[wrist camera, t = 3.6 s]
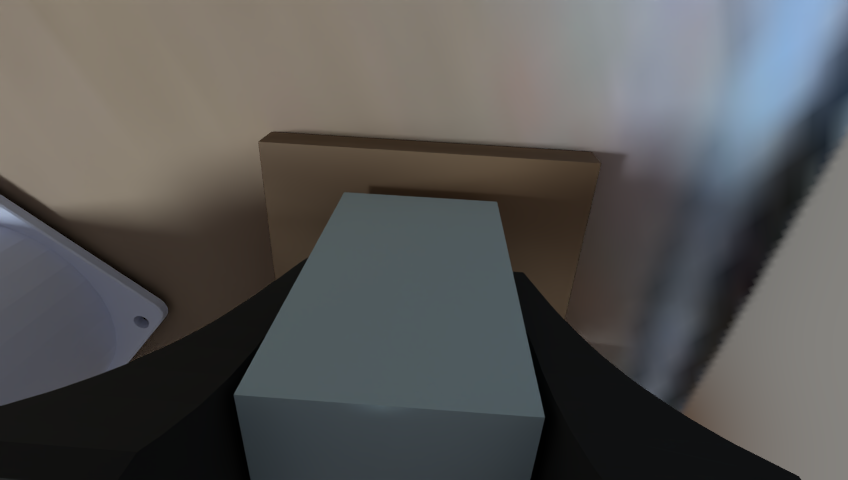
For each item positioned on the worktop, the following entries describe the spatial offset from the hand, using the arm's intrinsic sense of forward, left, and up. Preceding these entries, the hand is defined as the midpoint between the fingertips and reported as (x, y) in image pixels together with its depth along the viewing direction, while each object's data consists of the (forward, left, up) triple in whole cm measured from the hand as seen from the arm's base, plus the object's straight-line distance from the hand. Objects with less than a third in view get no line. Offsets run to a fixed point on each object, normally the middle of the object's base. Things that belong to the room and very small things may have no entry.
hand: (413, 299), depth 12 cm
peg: (0, 0, -2) cm, 2 cm away
